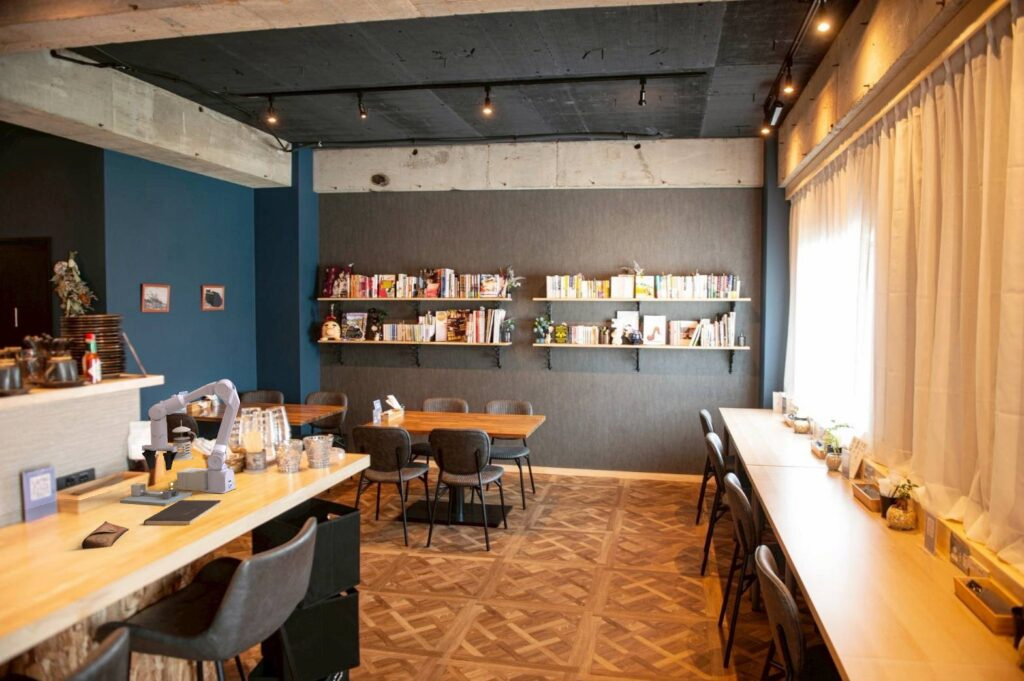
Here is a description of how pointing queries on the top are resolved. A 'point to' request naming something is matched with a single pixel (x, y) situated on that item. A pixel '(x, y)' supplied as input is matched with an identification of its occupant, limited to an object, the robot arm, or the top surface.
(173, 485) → the ball knob lever
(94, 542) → the sunglasses case
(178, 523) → the hardcover book
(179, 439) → the french press
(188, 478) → the supplement box
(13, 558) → the top surface
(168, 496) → the grey block
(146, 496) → the board
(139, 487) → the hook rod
